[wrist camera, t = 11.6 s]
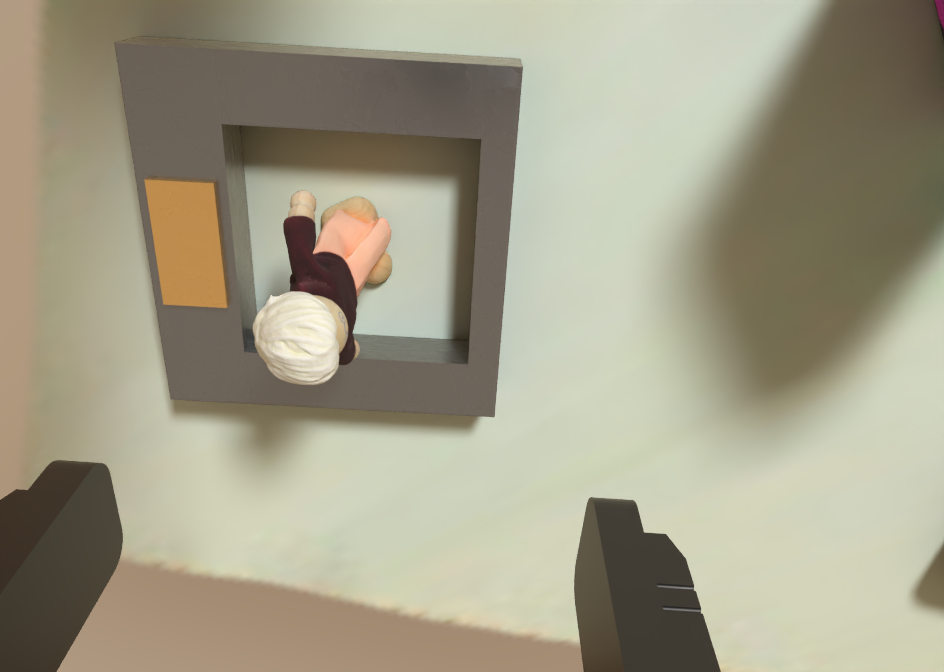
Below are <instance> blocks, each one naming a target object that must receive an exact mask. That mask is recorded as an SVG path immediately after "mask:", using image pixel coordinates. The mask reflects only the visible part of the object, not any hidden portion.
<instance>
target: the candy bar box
mask: <svg viewBox="0 0 944 672" xmlns="http://www.w3.org/2000/svg"><path fill="white" fill-rule="evenodd" d="M935 4H936V8H937V12H938V17H939V21H940V26H941V30H942V34H943V38H944V0H935Z"/></svg>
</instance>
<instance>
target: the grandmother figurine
mask: <svg viewBox="0 0 944 672" xmlns="http://www.w3.org/2000/svg"><path fill="white" fill-rule="evenodd" d="M290 205H291V209H290V211H289V214H288V218H286V219H285V221H284V224H283V225H284V235H285V239H286V244H287V247H288V253H289V260H290V265H291V269H292V275H291V276H290V284H291V285H290V292H287V293H285V294H282V295H280V296H272V295H270V298H269V299H268V300H267V303H266V305H265V307H263V308H262V309H261V310H260V311H259V313H258V314H257V316H256V318H255V321H254V323H253V334H254V337H255V347H256V349H257V351H258V353H259V355H260V356H261V358H262V359H263V360H264V361H265V362H266V364H267V367H268V369H269V370H270V371H271V372H272V373H273V374H274V375H275V376H276V377H277V378H279V379H281V380H284V381H286V382H289V383H294V384H300V385H316V384H322V383H325V382H326V381H328V380H329V379H330V378H331V377H332V376H333V375H334V374H335V373H336V371H337V369H338V365H347V364H349V363H350V362H351V361H352V360H353V359H355V358H356V357H357V356H358V354H359V351H360V347H359V344H358V342H357V341H356V340H354V336H353V333H352V332H353V329H354V325H355V321H356V308H357V297H358V296H359V293H360V291H361V290H362V288H363V287H364V285H365V283H370V284H379V283H382V282H384V281H385V280H387V279H388V277H389V276H390V274H391V271H392V260H391V257H390V256H389V254H388V253H387V252H386V251H385V249H386V248H387V246H388V244H389V242H390V238H391V229H390V226H389V224H388V222H387V220H386V219H385V218H382V217H380V218H379V219H378V215H377V212H376V209H375V207H374V206H373V204H372V203H371V202H370V201H368V200H367V199H365V198H362V197H353V198H350V199H347V200H345V201H343V202H341V203H339V204H337V205H334V206H332V207H330V208H328V209H327V210H325V211H324V213H323V214H322V217H321V222H322V226H323V228H322V230H321V233H320V235H319V237H318V239H317V243H316V230H315V222H314V221H315V215H314V211H315V209H316V199H315V197H314V196H313V195H312V194H311V193H310V192H308V191H298V192H296V193H295V194H294V195H293V196H292V198H291V203H290ZM315 243H316V247H315Z"/></svg>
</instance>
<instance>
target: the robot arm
mask: <svg viewBox="0 0 944 672" xmlns="http://www.w3.org/2000/svg"><path fill="white" fill-rule="evenodd" d="M122 543H123V533H122V527H121V522H120V518H119V513H118V508H117V504H116V499H115V494H114V490H113V485H112V480H111V476H110V472H109V469H108V467H107V466H106V465H105V464H103V463H92V462H77V461H62V460H56V461H53V462H52V463H50V464H49V465H48V466H47V467H46V469H45V470H44V471H43V472H42V473H41V475H40V476H39V477H38V478H37V480H36V481H35V482H34V483H33V484H32V486H31V487H30V488H29V489H28V490H17V489H16V490H15V491H13V492H12V493H10V494H9V495H7V496H6V497H4V498H3V499H1V500H0V672H56V671H57V670H58V668H59V666H60V664H61V663H62V661H63V659H64V658H65V656H66V654H67V652H68V650H69V649H70V647H71V645H72V644H73V642H74V640H75V639H76V637H77V635H78V633H79V632H80V630H81V628H82V626H83V625H84V623H85V621H86V619H87V617H88V616H89V614H90V612H91V611H92V609H93V607H94V606H95V604H96V602H97V601H98V599H99V597H100V595H101V594H102V592H103V590H104V588H105V587H106V585H107V583H108V582H109V580H110V578H111V576H112V575H113V573H114V571H115V569H116V567H117V565H118V562H119V559H120V555H121V550H122ZM574 593H575V605H576V613H577V621H578V629H579V637H580V645H581V653H582V660H583V669H584V672H721V671H720V668H719V665H718V661H717V658H716V655H715V652H714V648H713V645H712V642H711V639H710V636H709V632H708V629H707V626H706V623H705V619H704V616H703V614H701V606H700V603H699V600H698V597H697V594H696V591H694V584H693V581H692V577H691V574H690V571H689V568H688V564H687V561H686V558H685V557H684V556H683V555H682V553H681V552H680V551H679V550H678V549H677V547H676V546H675V545H674V544H673V542H672V541H671V540H670V539H669V537H668V536H667V535H666V534H656V533H644V531H643V527H642V523H641V519H640V515H639V512H638V508H637V505H636V502H635V501H633V500H622V499H607V498H592V497H591V498H589V500H588V503H587V507H586V512H585V517H584V522H583V528H582V533H581V538H580V544H579V549H578V554H577V560H576V566H575V579H574Z"/></svg>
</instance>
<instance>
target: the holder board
mask: <svg viewBox="0 0 944 672" xmlns="http://www.w3.org/2000/svg"><path fill="white" fill-rule="evenodd" d="M115 49H116V55H117V62H118V68H119V74H120V81H121V87H122V93H123V100H124V106H125V112H126V119H127V125H128V131H129V138H130V144H131V150H132V157H133V163H134V169H135V176H136V182H137V188H138V195H139V201H140V207H141V214H142V220H143V226H144V233H145V239H146V245H147V252H148V258H149V265H150V271H151V277H152V284H153V290H154V296H155V303H156V309H157V315H158V322H159V328H160V334H161V341H162V347H163V353H164V360H165V366H166V372H167V379H168V385H169V391H170V398H171V399H175V400H193V401H211V402H230V403H248V404H266V405H284V406H302V407H321V408H339V409H357V410H375V411H393V412H412V413H430V414H448V415H466V416H485V417H494V416H495V404H496V391H497V379H498V367H499V354H500V342H501V330H502V317H503V305H504V293H505V280H506V268H507V256H508V243H509V231H510V219H511V206H512V194H513V182H514V169H515V157H516V145H517V132H518V120H519V108H520V95H521V83H522V71H523V66H522V63H521V59H515V58H499V57H482V56H465V55H448V54H431V53H414V52H398V51H381V50H364V49H347V48H330V47H313V46H297V45H280V44H263V43H246V42H229V41H212V40H196V39H179V38H162V37H145V36H139V37H135V38H131V39H127V40H123V41H119V42H115ZM240 125H244V126H261V127H278V128H296V129H313V130H330V131H347V132H364V133H381V134H398V135H415V136H433V137H450V138H467V139H481V149H480V166H479V183H478V200H477V217H476V234H475V251H474V268H473V284H472V301H471V318H470V335H469V341H465V340H447V339H430V338H412V337H394V336H376V335H358V334H353V336H354V340H356V341H357V342H358V344H359V347H360V351H359V354H358V356H357V357H356V358H355V359H353V360H352V361H351V362H350V363H349V364H347V365H338V369H337V371H336V373H335V374H334V375H333V376H332V377H331V378H330V379H329V380H328V381H326V382H325V383H322V384H316V385H300V384H294V383H289V382H286V381H284V380H281V379H279V378H277V377H276V376H275V375H274V374H273V373H272V372H271V371H270V370H269V369H268V367H267V364H266V362H265V361H264V360H263V359H262V358H261V356H260V355H259V353H258V351H257V349H256V347H255V337H254V334H253V323H254V321H255V318H256V316H257V310H256V299H255V288H254V276H253V265H252V254H251V243H250V232H249V220H248V209H247V198H246V187H245V175H244V164H243V153H242V142H241V130H240Z"/></svg>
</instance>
